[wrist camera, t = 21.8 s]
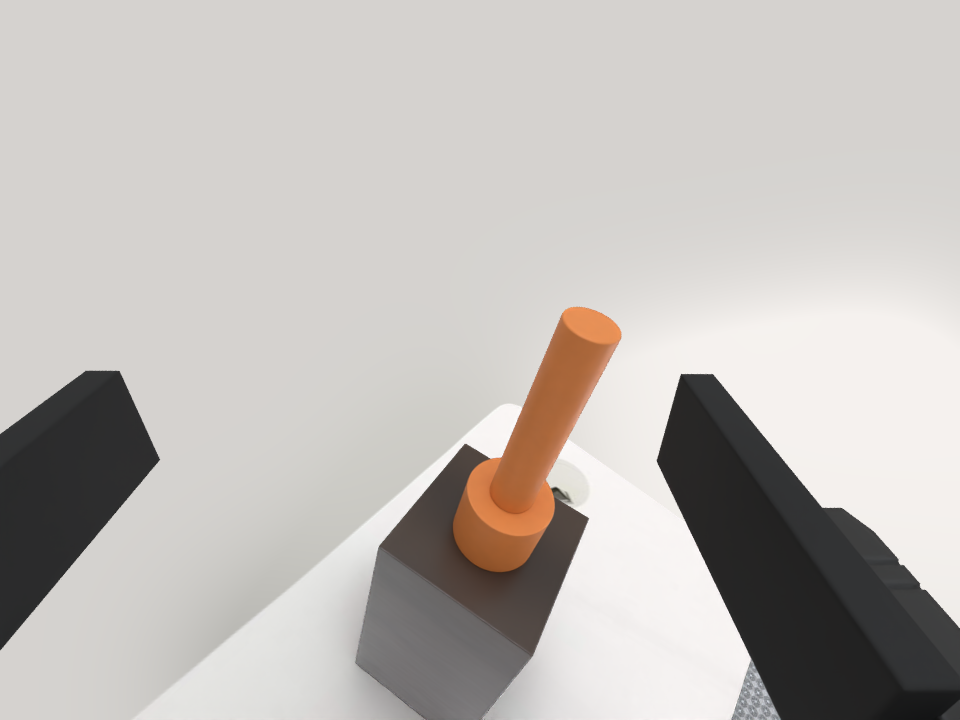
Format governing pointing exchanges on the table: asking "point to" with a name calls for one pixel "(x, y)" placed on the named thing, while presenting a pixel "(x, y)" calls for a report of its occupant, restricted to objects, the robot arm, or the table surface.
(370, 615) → the stand
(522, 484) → the orange tower post
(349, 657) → the table surface
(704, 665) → the table surface
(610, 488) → the table surface
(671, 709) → the table surface
